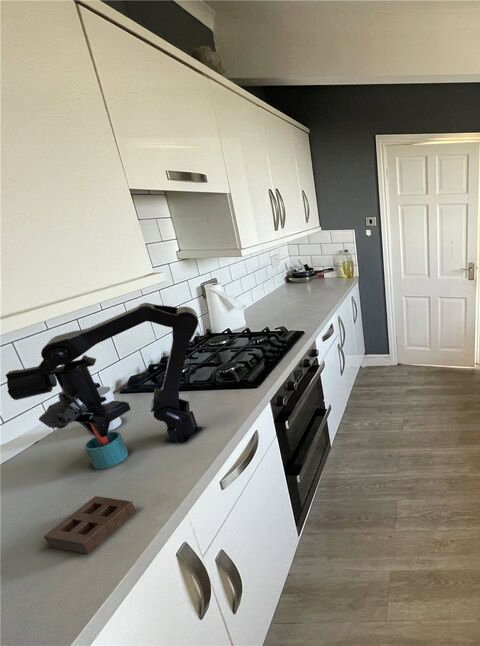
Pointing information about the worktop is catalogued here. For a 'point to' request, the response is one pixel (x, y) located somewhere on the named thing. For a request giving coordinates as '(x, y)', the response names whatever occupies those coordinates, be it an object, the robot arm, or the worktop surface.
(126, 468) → the worktop surface
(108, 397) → the cup
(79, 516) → the stand
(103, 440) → the red rod
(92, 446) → the teal round container
